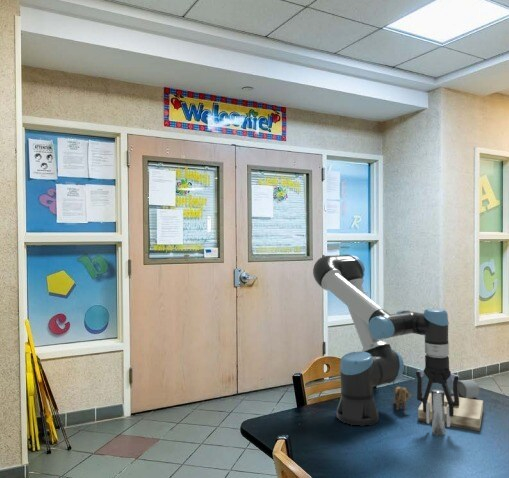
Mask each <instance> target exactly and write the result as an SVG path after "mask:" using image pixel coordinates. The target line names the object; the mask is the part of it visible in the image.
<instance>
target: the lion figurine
mask: <svg viewBox="0 0 509 478" xmlns="http://www.w3.org/2000/svg"><path fill="white" fill-rule="evenodd" d="M411 396H412V394H411V393H410V392H409V391H408V390H407V388H406V387H402V386H397V387H395V389H394V401H393V402H392V403H393V405H396V408H395V410H397V411H398V410H400V404H402V405H401V408H402V409H403V410H405V411H406V410H407V408H406V407H405V406H406V401H408V400H410V398H411ZM399 403H400V404H399Z"/></svg>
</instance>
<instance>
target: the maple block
mask: <svg viewBox="0 0 509 478" xmlns="http://www.w3.org/2000/svg"><path fill="white" fill-rule="evenodd" d="M451 397H452V400H453V401H454V395H451ZM427 401H428V402H430V422H429V424H432V396H431V392H430V393H429V397H428V400H427ZM447 404H448V402H447V399H446V395H445V394H444V408H445V426H447V408H446V407H447ZM453 409H454V414H453V417H451V416H450V427H454V428H460V429H467V430H472V431H479V432H480V431H481V426H482V421H483V416H484V415H483V414H484V400H481V399H475V398H472V399H468V398H461V397H459V405H458V406H454V407H453ZM417 419H418V421H419V422H426V423H427V417H426V412H424V411H423V402H422V401H421V404H420V405H419V407H418V409H417Z"/></svg>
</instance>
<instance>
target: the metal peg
mask: <svg viewBox="0 0 509 478" xmlns="http://www.w3.org/2000/svg"><path fill="white" fill-rule="evenodd" d="M430 393H431V396H432V423H431V428H432V429H431V433H432V434H433V435H435V436H438V437H439V436H440V437H441V436H442V437H443V436H446V425H445V408H444V395H445V392H444V390H441V389H431V390H430Z"/></svg>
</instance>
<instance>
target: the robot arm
mask: <svg viewBox="0 0 509 478" xmlns="http://www.w3.org/2000/svg"><path fill="white" fill-rule="evenodd" d="M365 269H366V268H365V266H364V263H363V261H362V260H361V259H360V258H359V257H358V256H356V255H353V254H342V255H341V254H339V255H337V254H336V255H323V256H322V257H320V258H318V259H317V260H316V262H315V264H314V265H313V268H312V275H313V278H314V280H315V282H316V283H317V284H318V286H320V288H322V289H323V290H324V291H329V292H330V293H332V294H333V296H335V297H336V298H337V299H339V300H340V301H341V302H342V303H343V304H344V305H345V306H346V307H347V309H348V311H349V314H350V317H351V319H352V322H353V325H354V328H355V330H356V332H357V335H358V338H359V340H360V342H361V345H362V350H361V351H351V352H348V353H345V354H344V355H343V356H342V357H341V358H340V365H339V366H340V367H339V372H340V375H339V376H340V399H339V401H338V406H337V408H336V418H338V419H339V420H340V421H342V422H345V423H347V424H346V425H348V424H352V425H364V426H363V427H366V426H365V425H370V426H373V425H375V423H376V424H377V423H379V421H378V420H380V419H379V418H380V417H379V416H380V415H379V411H378V409H377V405H376V403H375V399H374V388H375V387H379V386H382V385H385V384H390V383H393V382H396V381H398V380H399V379H400V378H401V377H402V376H403V372H404V369H405V364H404V359H403V358H402V355H401V354H400V352H398V351H397V350H394V349H392V346H391V345H390V343H389V342H387V341H386V340H384V339H389V338H394V337H398V336H403V335H410V334H413V335H414V334H415V335H420V336H424V353H425V355H424V361H425V362H424V363H425V364H424V365H425V366H424V369H422V370H420V369H418V370H417V371H416V372H415V374H416V378H417V390H416V391H417V392H416V395H417V396H416V400H417V401H419V402H421V403H422V402H423V411H424V412H426V417H427V422H426V424H430V402H428V401H427V400H428V397H429V393H431V391H432V386H433V384H435V383H436V384H440V385H441V387H442V389H443V392H444V395H446V399H447V402H448V404H447V407H446V408H447V425H446V427H447V428H450V427H451V426H450V416H451V417H453V414H454V409H453V407H454V406H458V405H459V391H458V381H459V379H460V375H459V374H454V373H453V372H451V370H450V356H449V355H450V351H449V350H450V345H449V343H450V342H449V325H450V324H449V319H448V318H449V316H448V311H447V310H446V309H443V308H434V307H433V308H431V307H429V308H425V309H424V310H423V313H422V312H417V311H412V310H398V311H397V312H396V313H393V314H391V313H389V312H387V311H386V310H384V308H383V307H381V306H380V305H378V304H377V303H376V302H375V301H374V300H372V299H371V298H370V297H369V296H368V295H366V292H365V291H364V287H363V283H364V277H365V272H366V271H365ZM424 375H425V376H426V377H427V378H428V382H427V386H426V389H425V392H424V395H423V380H424V379H423V377H424ZM449 378H451V381H452V385H453V390H454V394H453V396H454V401H453V400H452V397H451V396H452V393H451V390H450V388H449V385H448V382H447V380H448V379H449ZM338 419H337V420H338ZM339 420H338V421H339ZM340 421H339V422H340ZM342 422H341V423H342ZM352 425H351V426H352Z"/></svg>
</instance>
